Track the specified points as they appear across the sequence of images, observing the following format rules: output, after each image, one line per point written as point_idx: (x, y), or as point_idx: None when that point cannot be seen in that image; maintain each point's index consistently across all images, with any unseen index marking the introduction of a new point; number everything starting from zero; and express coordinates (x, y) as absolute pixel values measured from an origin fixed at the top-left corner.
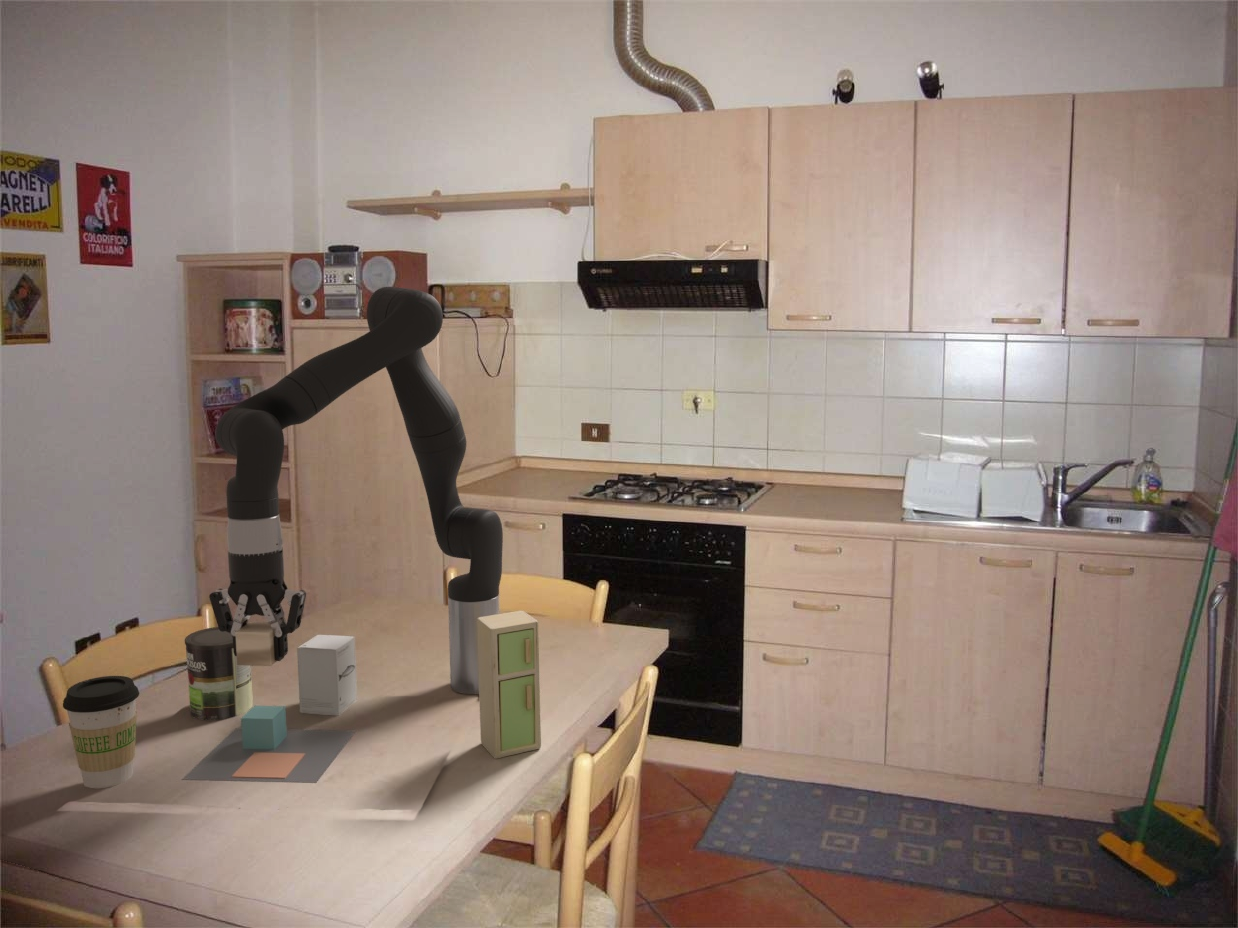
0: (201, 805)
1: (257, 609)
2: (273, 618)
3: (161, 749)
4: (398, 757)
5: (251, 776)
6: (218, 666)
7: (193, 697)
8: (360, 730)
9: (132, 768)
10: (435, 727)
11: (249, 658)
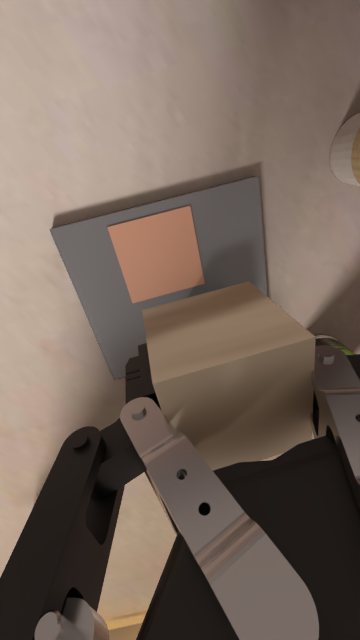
0: (188, 122)
1: (275, 491)
2: (151, 463)
3: (336, 265)
4: (13, 347)
5: (159, 214)
6: None
7: (353, 354)
8: (121, 388)
9: (342, 168)
10: (34, 425)
11: (216, 301)
